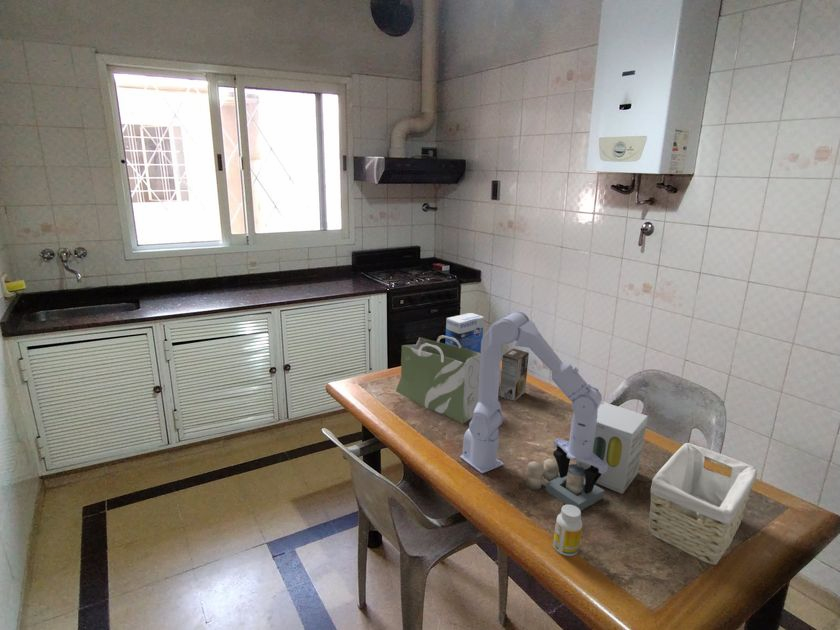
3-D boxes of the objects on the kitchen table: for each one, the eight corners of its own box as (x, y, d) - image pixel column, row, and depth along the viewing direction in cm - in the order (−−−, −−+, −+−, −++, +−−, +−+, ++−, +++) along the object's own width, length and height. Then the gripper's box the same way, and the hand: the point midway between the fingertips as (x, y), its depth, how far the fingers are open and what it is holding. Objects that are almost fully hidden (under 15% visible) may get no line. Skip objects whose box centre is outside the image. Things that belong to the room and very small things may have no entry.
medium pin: (522, 482, 129) (524, 464, 128) (533, 477, 132) (535, 459, 130) (534, 490, 126) (536, 472, 125) (544, 485, 128) (547, 467, 127)
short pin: (539, 475, 133) (541, 461, 132) (549, 470, 135) (550, 457, 134) (551, 482, 130) (552, 469, 129) (561, 477, 132) (562, 464, 131)
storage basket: (717, 574, 101) (732, 514, 97) (638, 533, 112) (648, 477, 108) (747, 521, 118) (761, 467, 114) (675, 489, 129) (686, 439, 125)
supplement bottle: (548, 547, 107) (553, 510, 104) (560, 535, 111) (565, 498, 108) (571, 561, 104) (577, 522, 101) (582, 547, 107) (588, 510, 105)
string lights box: (467, 374, 198) (471, 312, 190) (480, 380, 192) (485, 316, 185) (442, 381, 189) (445, 317, 182) (456, 388, 184) (460, 322, 177)
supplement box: (572, 474, 134) (580, 416, 129) (591, 454, 144) (599, 399, 139) (622, 495, 126) (633, 433, 121) (638, 472, 135) (649, 415, 131)
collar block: (545, 490, 126) (546, 483, 126) (570, 477, 132) (571, 470, 131) (577, 512, 119) (578, 504, 118) (603, 497, 124) (604, 490, 124)
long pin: (561, 492, 126) (565, 466, 124) (572, 488, 128) (576, 462, 126) (573, 501, 123) (577, 475, 120) (584, 496, 125) (588, 470, 122)
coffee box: (509, 388, 186) (513, 348, 181) (525, 393, 182) (529, 352, 178) (498, 396, 179) (502, 354, 174) (514, 401, 175) (518, 359, 171)
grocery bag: (392, 392, 179) (394, 331, 173) (419, 382, 189) (421, 324, 182) (461, 424, 158) (465, 356, 152) (487, 411, 168) (492, 346, 161)
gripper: (548, 427, 124) (542, 474, 128) (597, 454, 113) (590, 505, 117) (566, 420, 128) (560, 466, 132) (616, 445, 117) (607, 495, 121)
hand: (575, 483), depth 124 cm, fingers open, 7 cm apart
